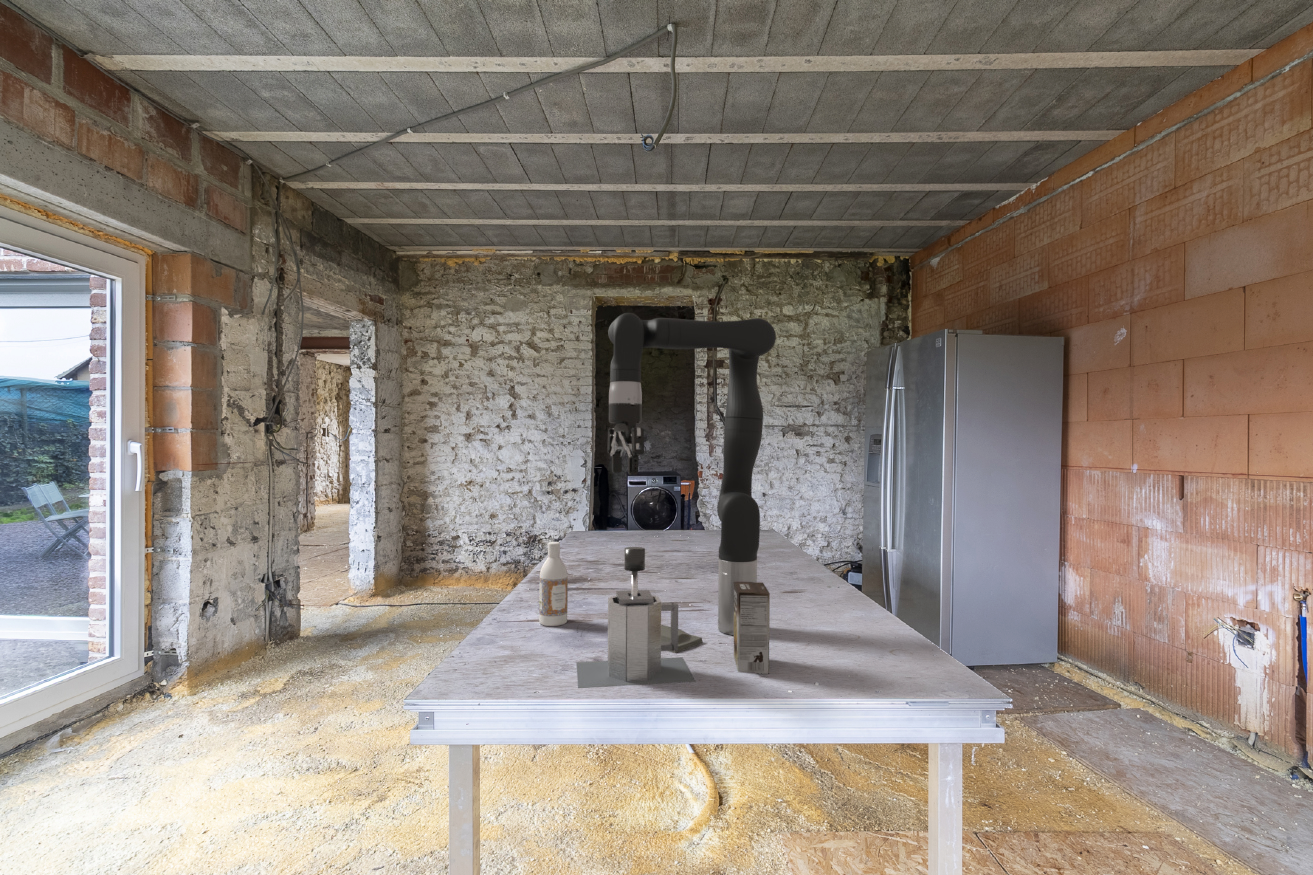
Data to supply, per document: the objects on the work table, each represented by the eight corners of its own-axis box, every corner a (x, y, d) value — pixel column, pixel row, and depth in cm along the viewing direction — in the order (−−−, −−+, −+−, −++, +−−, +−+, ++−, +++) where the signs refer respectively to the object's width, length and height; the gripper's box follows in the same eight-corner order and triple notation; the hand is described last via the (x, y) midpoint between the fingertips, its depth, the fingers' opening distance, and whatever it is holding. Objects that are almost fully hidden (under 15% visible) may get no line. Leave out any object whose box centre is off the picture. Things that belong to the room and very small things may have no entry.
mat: (682, 659, 127) (682, 657, 127) (696, 683, 115) (696, 681, 115) (576, 664, 124) (576, 662, 124) (578, 689, 111) (578, 687, 111)
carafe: (672, 660, 126) (673, 587, 126) (682, 678, 116) (682, 599, 116) (606, 663, 123) (607, 589, 124) (610, 682, 114) (611, 602, 114)
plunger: (648, 651, 123) (649, 545, 123) (653, 663, 116) (654, 551, 117) (615, 652, 122) (615, 546, 122) (618, 665, 115) (619, 552, 116)
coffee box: (732, 657, 129) (733, 580, 129) (763, 658, 128) (763, 581, 129) (736, 673, 120) (737, 591, 120) (769, 674, 119) (770, 591, 119)
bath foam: (545, 628, 148) (546, 545, 148) (534, 621, 153) (535, 541, 154) (571, 624, 151) (572, 543, 152) (560, 617, 157) (560, 539, 157)
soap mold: (638, 628, 150) (639, 614, 150) (703, 646, 137) (703, 630, 137) (608, 638, 143) (608, 623, 143) (674, 658, 130) (674, 641, 130)
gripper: (597, 403, 144) (597, 472, 144) (624, 400, 131) (623, 475, 131) (626, 404, 148) (625, 471, 147) (654, 401, 135) (654, 474, 135)
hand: (624, 473), depth 139 cm, fingers open, 8 cm apart
